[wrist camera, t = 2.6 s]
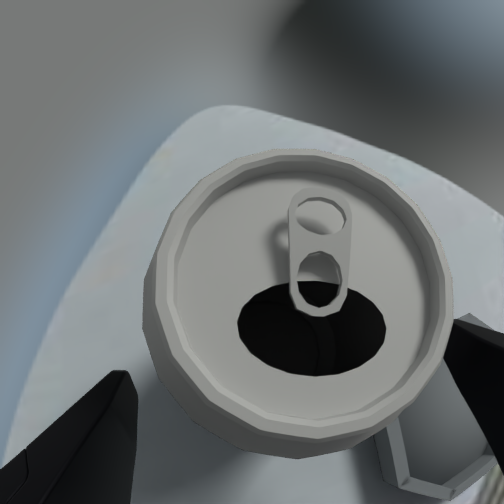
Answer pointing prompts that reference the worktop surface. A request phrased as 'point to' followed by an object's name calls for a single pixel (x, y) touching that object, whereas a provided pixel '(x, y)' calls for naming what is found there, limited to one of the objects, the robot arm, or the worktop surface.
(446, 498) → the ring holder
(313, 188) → the can
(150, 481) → the worktop surface
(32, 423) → the worktop surface
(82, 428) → the robot arm
